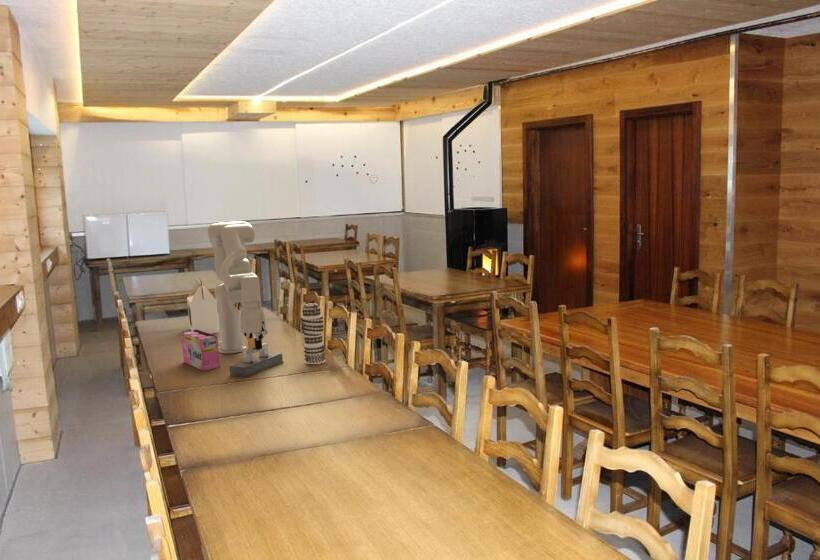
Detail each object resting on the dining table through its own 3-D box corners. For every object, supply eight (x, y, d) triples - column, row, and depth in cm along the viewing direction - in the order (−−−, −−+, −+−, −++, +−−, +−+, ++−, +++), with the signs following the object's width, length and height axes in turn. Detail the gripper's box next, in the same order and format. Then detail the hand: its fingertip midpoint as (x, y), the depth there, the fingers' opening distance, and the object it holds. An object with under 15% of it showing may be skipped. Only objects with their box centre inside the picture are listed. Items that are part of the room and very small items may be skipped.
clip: (242, 369, 305) (240, 340, 304) (264, 361, 318) (262, 333, 316) (248, 370, 304) (246, 341, 302) (270, 361, 316) (268, 333, 315)
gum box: (181, 361, 332) (178, 331, 330) (199, 358, 337) (196, 328, 335) (203, 371, 313) (200, 339, 311) (221, 367, 318) (218, 335, 316)
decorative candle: (322, 365, 311) (318, 305, 308) (301, 365, 313) (296, 306, 310) (329, 359, 320) (324, 301, 317) (308, 359, 322) (304, 302, 318)
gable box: (189, 328, 408) (184, 277, 405) (214, 325, 413) (209, 275, 409) (193, 336, 388) (188, 282, 384) (219, 332, 392) (214, 279, 389)
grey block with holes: (230, 375, 302) (229, 366, 302) (267, 361, 323) (267, 352, 323) (245, 377, 299) (245, 367, 298) (282, 362, 320) (282, 353, 319)
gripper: (230, 306, 308) (234, 349, 310) (261, 307, 300) (265, 352, 303) (242, 302, 314) (246, 345, 317) (273, 304, 307) (277, 348, 309)
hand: (255, 348), depth 310 cm, fingers closed on clip, 3 cm apart
